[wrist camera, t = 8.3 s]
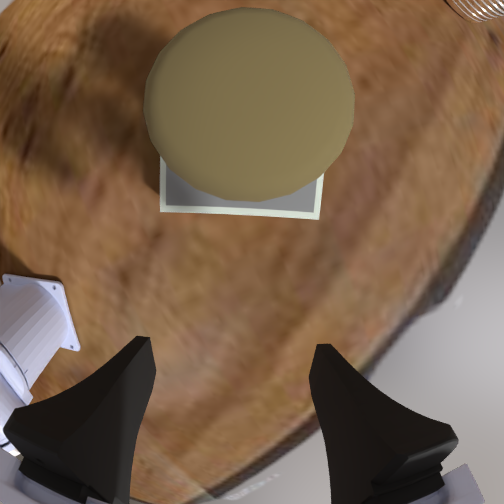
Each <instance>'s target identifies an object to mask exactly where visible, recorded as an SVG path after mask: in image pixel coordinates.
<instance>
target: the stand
mask: <svg viewBox="0 0 504 504" xmlns="http://www.w3.org/2000/svg"><path fill="white" fill-rule="evenodd" d="M323 176H324V173H323V174H322V175H321V176H320V177H319V178H318V179H316V180H314V181H313V182H311V183H309V184H307V185H306V186H304V187H302V188H301V189H299V190H297V191H296V192H294V193H292V194H291V195H286V196H282V197H278V198H274V199H270V200H266V201H261V202H249V201H231V200H224V199H221V198H219V197H216V196H213V195H210V194H208V193H205V192H202V191H199V190H197V189H195V188H193V187H192V186H191V185H189V184H188V183H187V182H186V181H184V180H183V179H182V178H180V177H179V176H178V175H176V174H175V173H174V172H173V171H171V170H170V169H169V168H168V166H167V165H166V163H165V162H164V160H163V159H162V157H161V156H160V212H185V213H214V214H237V215H256V216H274V217H289V218H304V219H317V220H319V213H320V205H321V196H322V186H323Z"/></svg>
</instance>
